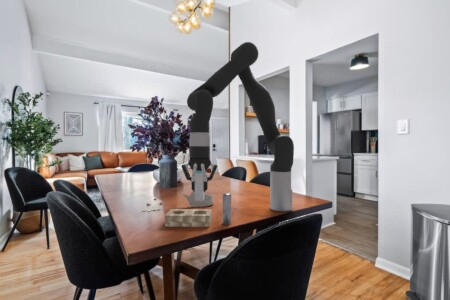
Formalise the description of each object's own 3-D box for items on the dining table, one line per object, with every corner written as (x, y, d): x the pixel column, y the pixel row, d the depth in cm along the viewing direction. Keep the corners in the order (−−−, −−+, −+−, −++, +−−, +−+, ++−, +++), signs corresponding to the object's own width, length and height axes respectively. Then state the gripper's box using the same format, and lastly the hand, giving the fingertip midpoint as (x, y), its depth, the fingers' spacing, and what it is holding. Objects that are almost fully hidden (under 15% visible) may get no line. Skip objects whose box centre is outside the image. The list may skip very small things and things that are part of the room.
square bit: (204, 198, 90) (204, 169, 90) (203, 200, 87) (203, 170, 87) (196, 198, 90) (196, 169, 90) (194, 200, 87) (194, 170, 87)
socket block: (211, 219, 93) (211, 209, 92) (209, 226, 85) (209, 215, 84) (170, 219, 93) (170, 209, 93) (165, 226, 85) (165, 215, 85)
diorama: (143, 214, 101) (143, 205, 101) (146, 199, 127) (145, 193, 127) (165, 212, 104) (165, 204, 104) (163, 198, 129) (163, 192, 129)
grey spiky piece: (209, 207, 108) (201, 186, 109) (189, 214, 111) (182, 194, 112) (219, 200, 120) (212, 181, 121) (201, 207, 123) (194, 189, 124)
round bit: (231, 221, 90) (231, 193, 90) (231, 224, 87) (231, 194, 86) (222, 221, 90) (222, 193, 90) (222, 224, 87) (222, 194, 87)
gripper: (219, 145, 92) (219, 189, 92) (182, 145, 92) (182, 189, 92) (218, 145, 84) (217, 193, 85) (178, 145, 84) (178, 193, 85)
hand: (199, 191), depth 88 cm, fingers closed on square bit, 3 cm apart
